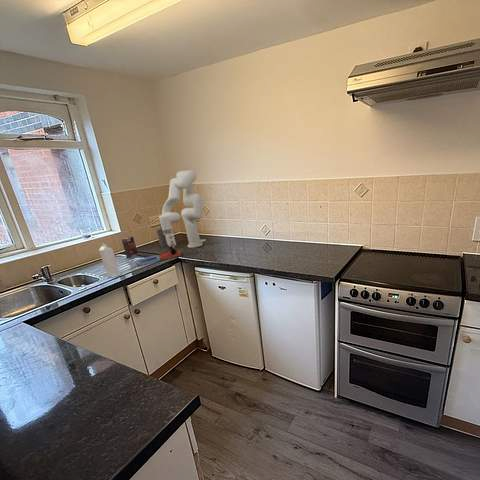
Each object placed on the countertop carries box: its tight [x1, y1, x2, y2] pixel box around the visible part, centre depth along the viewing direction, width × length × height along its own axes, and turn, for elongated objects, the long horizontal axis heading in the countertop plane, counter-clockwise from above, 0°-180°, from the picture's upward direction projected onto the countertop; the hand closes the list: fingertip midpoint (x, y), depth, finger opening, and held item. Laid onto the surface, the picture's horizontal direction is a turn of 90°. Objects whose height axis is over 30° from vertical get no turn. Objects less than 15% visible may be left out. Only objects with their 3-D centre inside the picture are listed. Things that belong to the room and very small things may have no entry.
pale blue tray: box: [135, 254, 161, 267], centre depth 222 cm, size 15×11×2 cm
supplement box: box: [121, 236, 139, 260], centre depth 236 cm, size 9×5×16 cm, turn 168°
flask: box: [156, 225, 169, 249], centre depth 260 cm, size 4×14×18 cm, turn 156°
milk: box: [98, 243, 121, 279], centre depth 196 cm, size 6×6×22 cm
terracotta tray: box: [157, 249, 182, 262], centre depth 229 cm, size 15×11×2 cm
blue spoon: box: [140, 257, 157, 263], centre depth 222 cm, size 12×4×2 cm, turn 122°
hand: (173, 254), depth 231 cm, fingers closed
